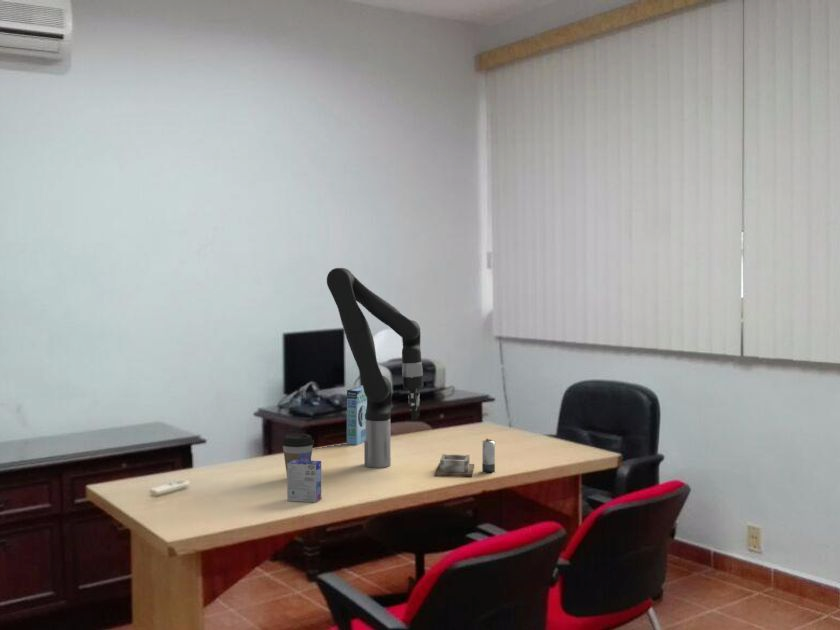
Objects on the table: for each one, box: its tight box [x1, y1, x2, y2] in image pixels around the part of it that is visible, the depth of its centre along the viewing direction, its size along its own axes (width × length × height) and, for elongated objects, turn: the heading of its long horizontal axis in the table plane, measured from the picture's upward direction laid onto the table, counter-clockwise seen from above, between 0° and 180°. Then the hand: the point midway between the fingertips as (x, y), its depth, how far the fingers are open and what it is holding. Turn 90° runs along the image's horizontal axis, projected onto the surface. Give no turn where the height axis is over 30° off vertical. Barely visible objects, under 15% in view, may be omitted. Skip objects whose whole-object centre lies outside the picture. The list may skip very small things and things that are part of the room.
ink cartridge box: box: [286, 453, 322, 503], centre depth 270 cm, size 10×6×14 cm, turn 78°
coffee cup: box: [281, 433, 315, 474], centre depth 297 cm, size 11×11×15 cm
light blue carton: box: [346, 384, 367, 446], centre depth 364 cm, size 20×5×23 cm, turn 161°
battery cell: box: [481, 438, 496, 474], centre depth 308 cm, size 4×4×12 cm
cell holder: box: [434, 453, 475, 478], centre depth 308 cm, size 13×16×5 cm
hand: (415, 418), depth 315 cm, fingers open, 8 cm apart
